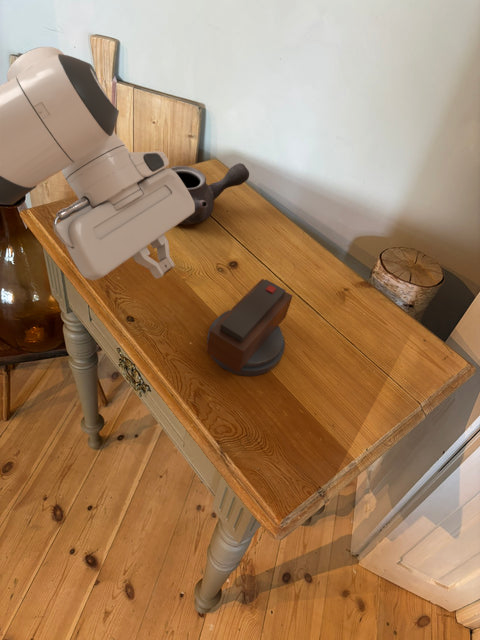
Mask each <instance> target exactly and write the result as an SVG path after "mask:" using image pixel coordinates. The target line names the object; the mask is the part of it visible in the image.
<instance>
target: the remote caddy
mask: <svg viewBox="0 0 480 640" xmlns="http://www.w3.org/2000/svg"><path fill="white" fill-rule="evenodd" d="M292 299H293V294H291V293H289V292H287V290H286V289H285V288H282V287H280V285H278V284H275V283H273V282H272V281H271V280H268V279H264V278H261V279H260V280H259V281H258V282H257V283H256V284H255V285H254V286H253V287H252V288H251V289H250V290H249V291H248V292H247V293H246V294H245V295H244V296H243V297H242V298H241V299H240V300H239V301H238V302H236V304H235V305H234V306H233V307H232V308H231V309H229V310H226V311H224V312H223V313H221V314H220V315H219V316H217V317H216V318H215V320H216V321H215V320H214V321H215V322H214V321H213V322H214V325H213V328H212V329H211V330H210V334H209V340H208V346H207V345H206V346H207V347H206V353H207V355H209V356H210V357H212V356H213V357H214V358H216V359H218V360H219V361H221V362H222V363H224V364H225V365H227V366H229V367H230V368H232V369H233V370H235V371H236V372H239V371H240V370H241V369H242V367H243V366H245V367H258V366H262V365H265V364H268V363H270V362H271V361H273V360H274V359H275V358H276V357H277V356H278V354H279V353H280V351H281V348H282V344H283V337H284V334H283V331H282V329H281V327H280V325H281V323H282V322H283V321H284V320H285V319H286V317H287V315H288V311H289V308H290V305H291V303H292ZM282 334H283V335H282Z"/></svg>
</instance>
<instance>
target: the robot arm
mask: <svg viewBox="0 0 480 640" xmlns="http://www.w3.org/2000/svg"><path fill="white" fill-rule="evenodd" d="M6 79H7V81H6V82H4V83H3V84H1V85H0V205H8V206H9V205H10V206H11V205H14V204H15V203H17V202H18V201H20V200H21V199H22V198H23V197H25V196H27V194H29V193H30V192H32V191H33V190H34V189H36V188H37V186H38V185H39V184H41V183H44V181H46V180H48V179H50V178H52V177H53V176H55V175H57V174H58V173H60V172H62V176H63V178H64V180H65V181H66V182H67V184H68V186H69V187H70V189H71V190H72V191H73V193H74V194H75V196H76V197H77V199H78V200H76V201H74V202H72V203H71V204H70V205H68V206H67V207H63V208H61V209H59V210H58V211H57V212H56V214H55V217H54V219H53V222H52V229H53V232H54V234H55V235H56V237H57V238H58V239H59V241H60V242H61V243H62V245H64V246H65V247H66V250H67V252H68V253H69V256H70V257H71V259H72V261H73V263H74V265H75V267H76V269H77V270H78V271H79V273H80V274H81V276H82V277H83V278H85V279H86V280H90V281H93V282H94V281H96V280H99V279H102V278H104V277H105V276H107V275H108V274H109V273H111V272H113V271H114V270H115V269H117V268H118V267H119V266H121V265H122V264H124V263H125V262H126V261H128V260H130V259H131V258H133V260H134V261H135V263H137V264H138V265H140V266H142V267H143V268H145V269H147V270H149V271H150V273H151V275H152V276H153V277H154V278H155V279H161V278H162V277H164V276H165V275H166V274H167V273H168V272H170V271H171V270H172V269H173V268H175V266H176V265H175V262H174V261H173V259H172V258H171V256H170V254H171V253H170V244H169V240H168V238H167V236H166V235H165V234H166V233H167V232H169V231H170V230H173V229H174V228H175V227H176V226H178V225H180V224H179V223H180V222H182V221H183V220H185V219H186V218H187V217H189V216H190V215H192V214H193V213H194V212H195V204H194V201H193V199H192V197H191V195H190V193H189V191H188V190H187V188H186V186H185V185H184V183H183V182H182V180H181V179H180V177H179V176H178V175H177V174H176V173H175V172H174V171H173V170H171V169H169V168H168V166H169V164H170V162H169V161H170V160H169V159H168V156H167V155H166V153H165V152H164V151H160V150H159V151H158V150H157V151H132V152H130V151H129V149H128V147H127V146H126V145H125V143H124V141H123V140H122V139H121V138H120V137H119V136H118V135H117V134H116V133H115V128H116V125H117V122H118V118H119V114H120V113H119V112H120V110H119V109H117V107H115V106H114V104H113V103H112V101H111V99H110V98H109V96H108V94H107V93H106V91H105V89H104V88H103V86H102V84H101V83H100V81H99V79H98V75H97V73H96V70H95V69H94V67H93V65H92V64H91V63H90V62H87V61H85V60H82V59H80V58H77V57H74V56H70V55H67V54H64V53H63V52H62V51H61V50H60V49H59V48H56V47H53V46H39V47H36V48H32V49H30V50H27V51H26V52H24V53H22V54H21V55H19V56H18V57H16V59H14V61H13V62H12V63H11V64H10V66H9V68H8V70H7V74H6ZM148 246H151V247H152V249H156V252H157V257H158V261H157V260H154V259H153V258H152V257H150V256H149V255H151V252H150V250H149V248H148Z"/></svg>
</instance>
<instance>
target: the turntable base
mask: <svg viewBox="0 0 480 640" xmlns="http://www.w3.org/2000/svg"><path fill="white" fill-rule="evenodd" d="M215 321H216V319H214V320H213V322H212V323H211V325H210V326H209V329H208V333H207V339H206V344H207V345H206V346H208V340H209V334H210V330H211V329H212V328H213V325H214V322H215ZM282 335H283V344H282V348H281V351H280V353H279V354H278V356H277V357H276V358H275V359H274V360H273V361H271V362H270V363H268V364H265V365H262V366H258V367H245V366H243V367H242V369H241V370H240V371H239V372H236V371H235V370H233V369H232V368H230V367H229V366H227V365H225V364H224V363H222V362H221V361H219V360H218V359H216V358H214V357H213V356H211V358H212V359H213V361H214V362H215V363H216V364H217V365H218V366H219V367H220V368H222V369H223V370H225V371H227V372H229V373H232V374H235V375H239V376H242V377H243V376H244V377H256V376H261V375H264V374H267V373H269V372H271V371H273V370H274V369H275V368H276V367H277V366H278V365H279V363H280V362H281V360H282V358H283V356H284V352H285V347H286V346H285V345H286V343H285V337H284V334H283V333H282Z"/></svg>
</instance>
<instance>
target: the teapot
mask: <svg viewBox="0 0 480 640" xmlns="http://www.w3.org/2000/svg"><path fill="white" fill-rule="evenodd" d="M168 169H171V170H173V171H174V172H175V173H176V174H177V175H178V176H179V177H180V179H181V180H182V182H183V183H184V185H185V186H186V188H187V190H188V191H189V193H190V195H191V197H192V199H193V201H194V204H195V212H194V213H193V214H192V215H190V216H189V217H187V218H186V219H185V220H183V221H182V222H180V223H179V224H178V225H194V224H199V223H202V222H203V221H205V220H207V219H208V218H209V217H210V216H211V215H212V213H213V212H214V208H215V207H214V206H215V205H214V204H215V200H216V199H217V198H219V196H220V195H221V194H222V193H224V191H225V190H226V189H229V188H231V187H237V186H241V185H243V184H244V183H245V182H246V181H248V179H249V178H250V171H249V169H248V168H247V167H246V166H245V164H244V163H241V162H239V163H235V164H234V165H233V166H231V167H230V168H229V169H228V170H227V172H226V174H225V175H224V177H222V179H221V180H219V181H215V182H213V183H210V184H207V177H206V175H205V174H204V173H203V172H202V171H201V170H199V169H196V168H195V167H192V166H187V165H176V166H171V167H169V168H168Z"/></svg>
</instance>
